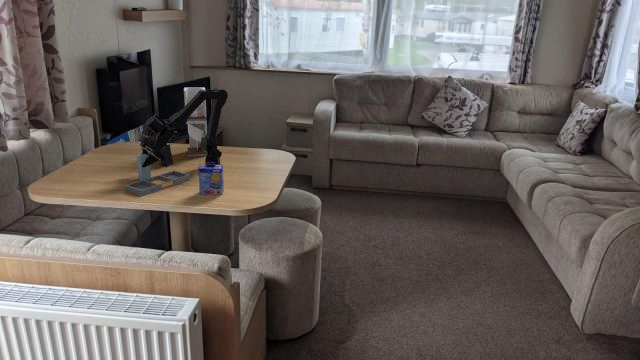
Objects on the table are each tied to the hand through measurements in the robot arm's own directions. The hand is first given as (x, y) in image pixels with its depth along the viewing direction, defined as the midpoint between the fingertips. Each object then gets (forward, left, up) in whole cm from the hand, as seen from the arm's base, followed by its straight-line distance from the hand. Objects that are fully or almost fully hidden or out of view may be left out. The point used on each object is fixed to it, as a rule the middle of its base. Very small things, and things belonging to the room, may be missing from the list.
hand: (140, 165), depth 224 cm
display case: (-8, -48, -7) cm, 49 cm away
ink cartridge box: (-37, +9, -7) cm, 39 cm away
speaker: (0, -25, -7) cm, 25 cm away
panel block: (-1, -1, -7) cm, 7 cm away
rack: (-11, +5, -7) cm, 14 cm away
